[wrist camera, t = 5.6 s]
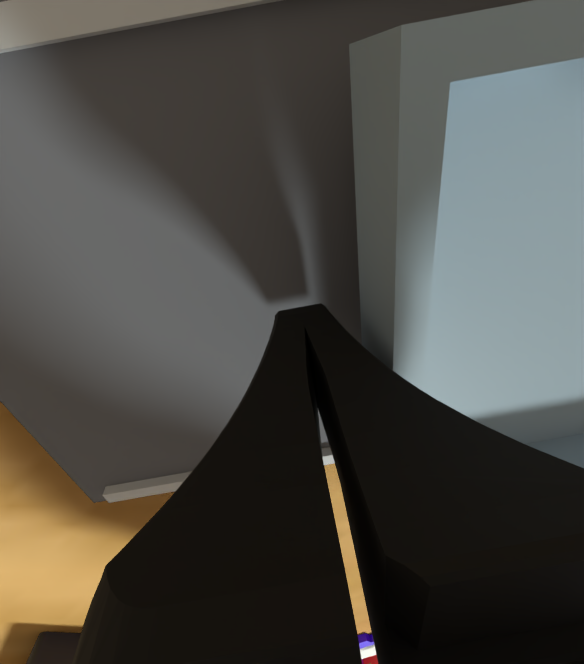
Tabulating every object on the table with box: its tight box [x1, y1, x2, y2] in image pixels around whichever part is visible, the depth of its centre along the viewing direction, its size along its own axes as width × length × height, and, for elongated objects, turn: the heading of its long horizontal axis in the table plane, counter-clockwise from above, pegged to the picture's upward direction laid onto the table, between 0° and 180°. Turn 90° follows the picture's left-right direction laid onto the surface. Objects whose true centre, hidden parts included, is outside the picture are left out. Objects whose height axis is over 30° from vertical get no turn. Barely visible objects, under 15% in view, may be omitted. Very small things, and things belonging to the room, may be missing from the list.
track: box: [0, 0, 533, 503], centre depth 10 cm, size 16×28×3 cm, turn 99°
